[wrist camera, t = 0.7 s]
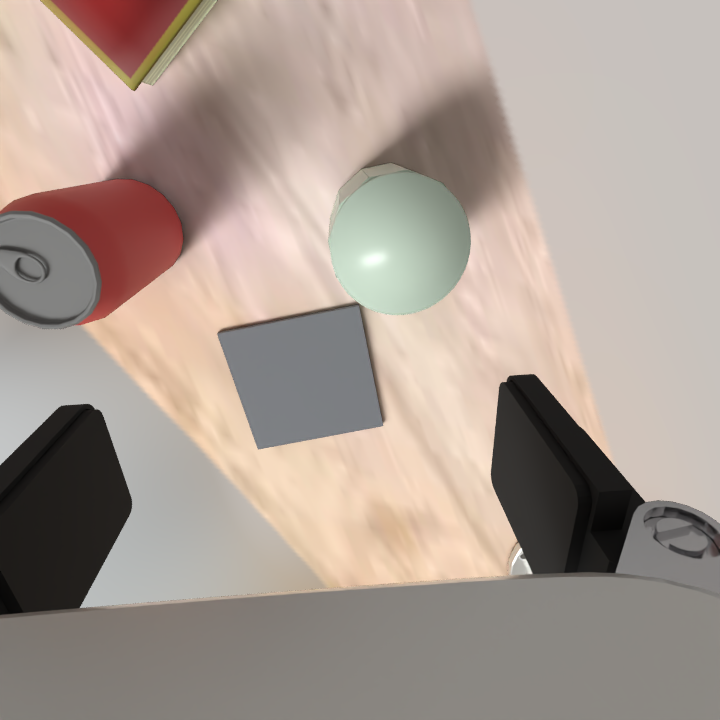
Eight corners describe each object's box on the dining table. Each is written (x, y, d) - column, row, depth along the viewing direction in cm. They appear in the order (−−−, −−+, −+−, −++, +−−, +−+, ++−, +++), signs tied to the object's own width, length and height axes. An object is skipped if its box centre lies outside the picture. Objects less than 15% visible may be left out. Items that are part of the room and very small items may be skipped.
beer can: (102, 158, 30) (-29, 168, 19) (199, 208, 32) (129, 244, 21) (76, 248, 32) (-55, 302, 22) (168, 290, 34) (89, 361, 23)
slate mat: (382, 423, 40) (383, 425, 39) (258, 446, 40) (258, 449, 40) (358, 304, 35) (358, 305, 35) (218, 332, 36) (217, 334, 35)
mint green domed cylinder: (444, 264, 34) (476, 300, 26) (343, 284, 34) (346, 326, 27) (432, 154, 31) (464, 158, 23) (320, 177, 31) (316, 190, 23)
